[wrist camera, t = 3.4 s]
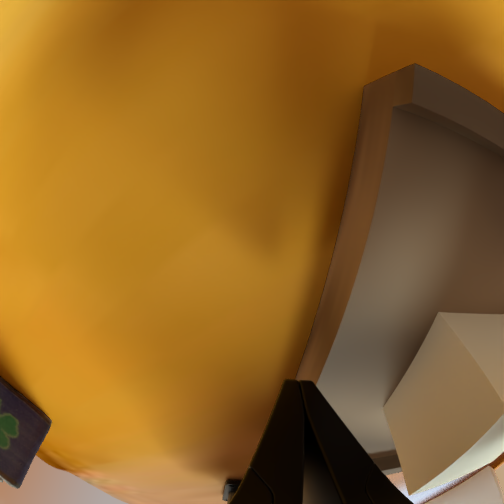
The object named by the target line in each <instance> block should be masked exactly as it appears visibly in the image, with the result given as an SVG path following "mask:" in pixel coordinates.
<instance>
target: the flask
mask: <svg viewBox="0 0 504 504" xmlns="http://www.w3.org/2000/svg"><path fill="white" fill-rule="evenodd" d="M51 422H52V421H51V420H50V418H48V417H47V416H46V414H44V413H43V412H42V411H41V410H40V409H38V408H37V407H36V406H35V405H33V404H32V403H31V402H30V401H29V400H28V399H26V398H25V397H24V396H23V395H22V394H20V393H19V392H18V391H17V390H15V389H13V388H12V387H11V385H10V384H8V383H7V382H6V381H5V380H4V379H3V378H1V377H0V482H3V480H4V481H5V482H6V483H7V484H9V485H10V486H12V487H15V488H20V486H21V484H22V482H23V480H24V477H25V475H26V474H27V471H28V469H29V467H30V464H31V463H32V460H33V458H34V457H35V454H36V453H37V451H38V450H39V447H40V445H41V444H42V442H43V440H44V438H45V436H46V434H47V433H48V431H49V429H50V426H51Z"/></svg>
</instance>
